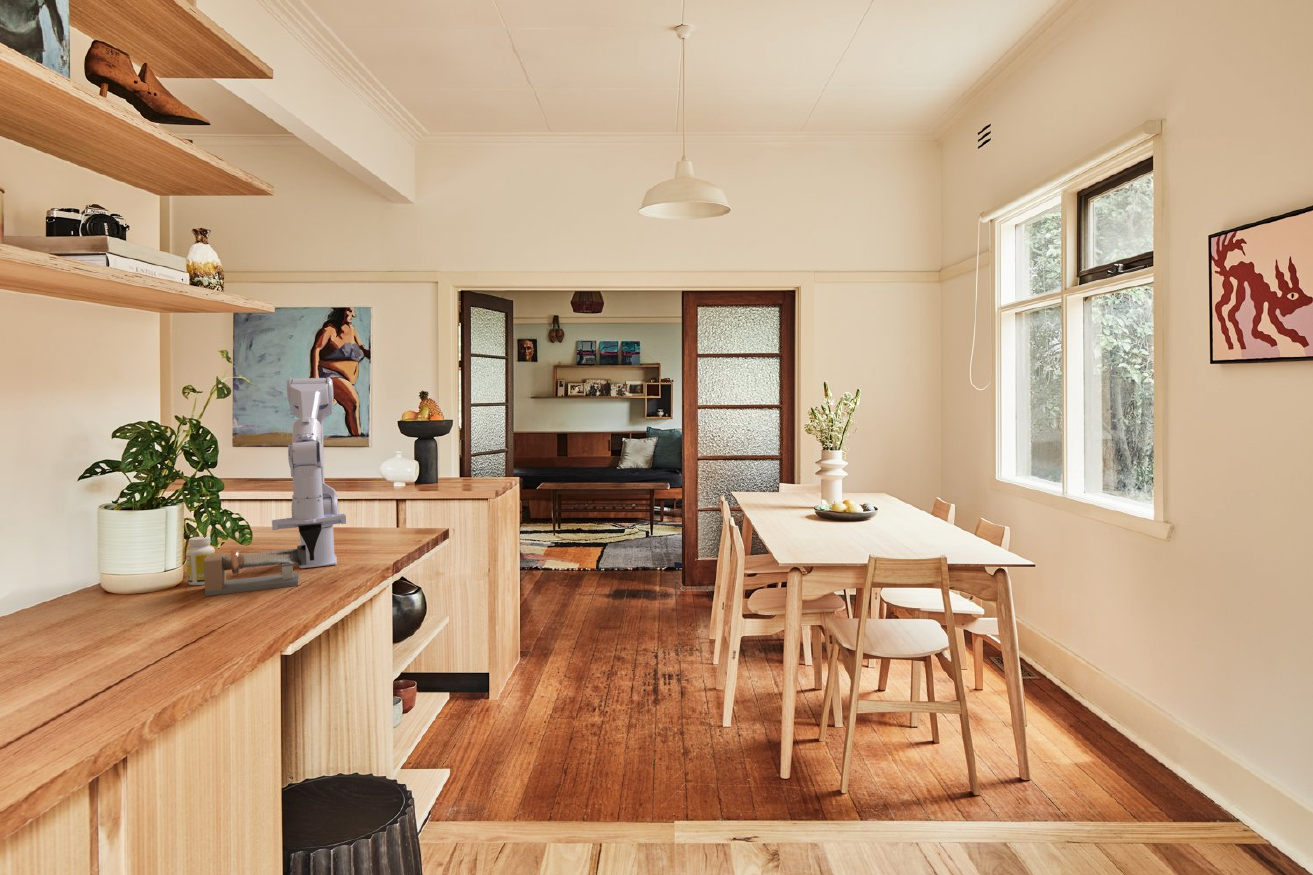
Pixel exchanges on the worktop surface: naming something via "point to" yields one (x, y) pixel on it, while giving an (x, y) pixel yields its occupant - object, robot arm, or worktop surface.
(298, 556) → the shaft
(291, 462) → the robot arm
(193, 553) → the supplement bottle
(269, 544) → the worktop surface
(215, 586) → the shaft stand
